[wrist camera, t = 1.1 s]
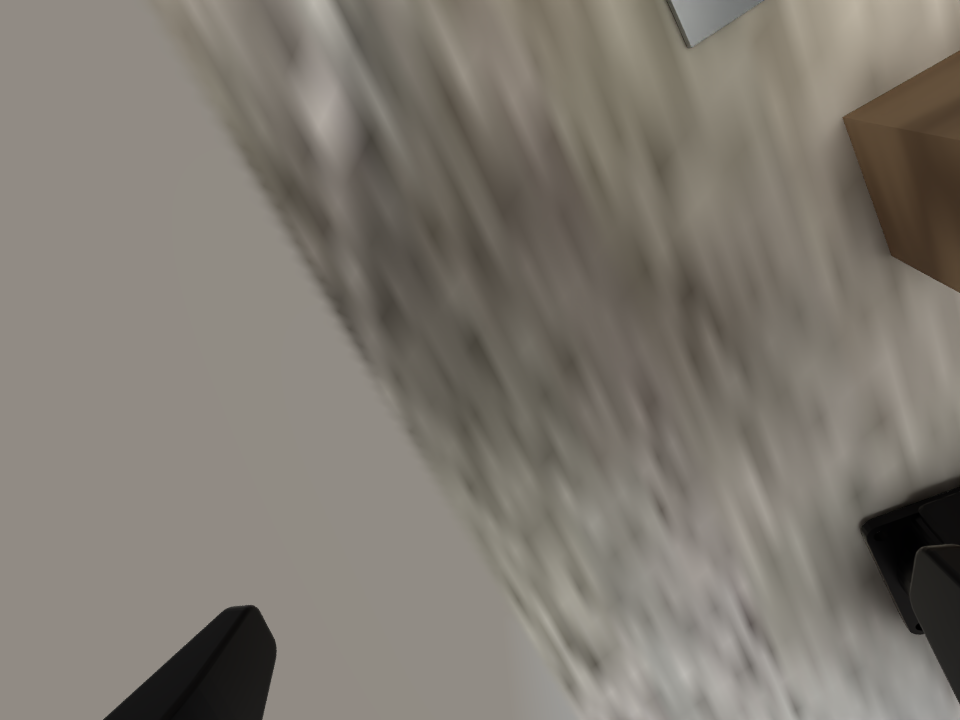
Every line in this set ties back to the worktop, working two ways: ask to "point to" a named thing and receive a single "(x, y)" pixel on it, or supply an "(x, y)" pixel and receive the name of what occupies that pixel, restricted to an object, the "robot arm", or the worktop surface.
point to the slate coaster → (706, 16)
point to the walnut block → (916, 168)
